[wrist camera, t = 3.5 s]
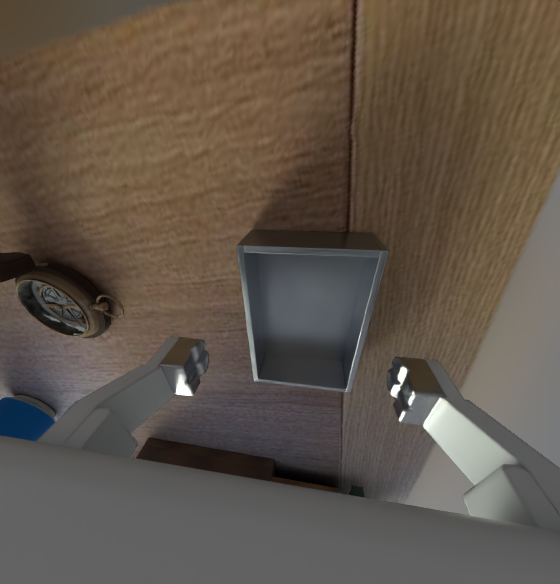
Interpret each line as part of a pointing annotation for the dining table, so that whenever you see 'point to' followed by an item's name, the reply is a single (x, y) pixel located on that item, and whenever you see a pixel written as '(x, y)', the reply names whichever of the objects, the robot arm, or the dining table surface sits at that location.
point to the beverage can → (24, 417)
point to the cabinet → (207, 459)
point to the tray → (309, 304)
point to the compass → (57, 296)
